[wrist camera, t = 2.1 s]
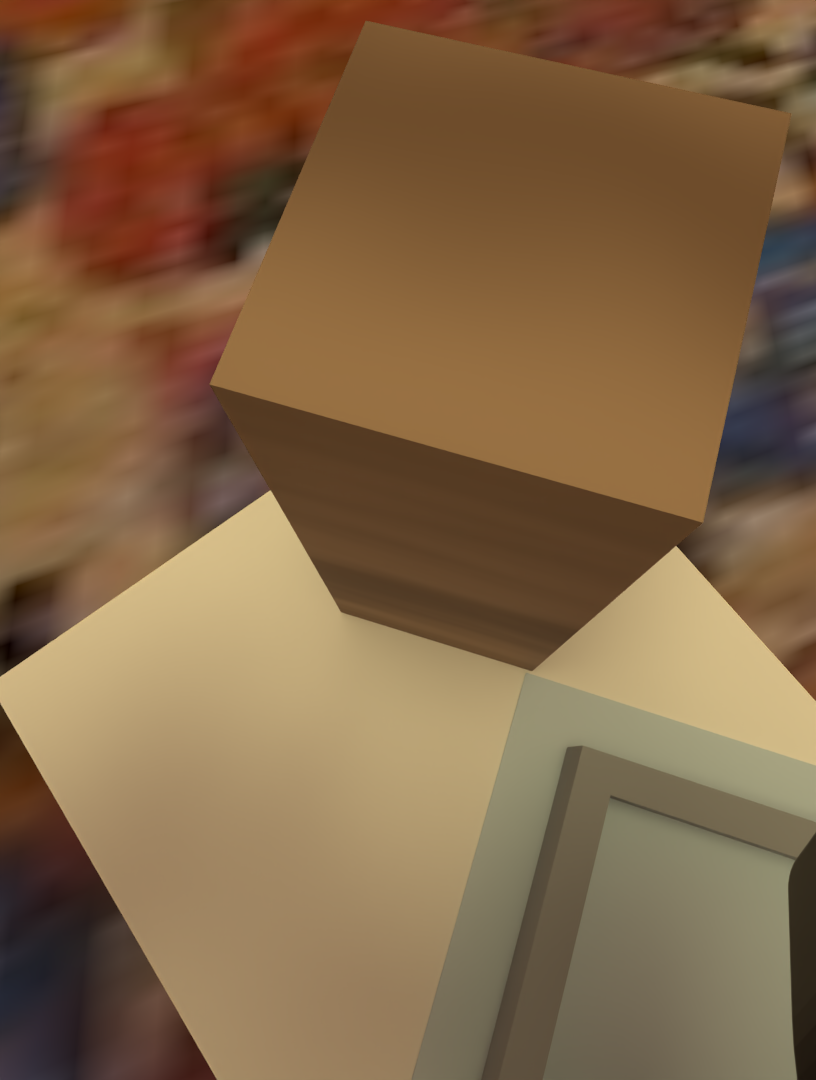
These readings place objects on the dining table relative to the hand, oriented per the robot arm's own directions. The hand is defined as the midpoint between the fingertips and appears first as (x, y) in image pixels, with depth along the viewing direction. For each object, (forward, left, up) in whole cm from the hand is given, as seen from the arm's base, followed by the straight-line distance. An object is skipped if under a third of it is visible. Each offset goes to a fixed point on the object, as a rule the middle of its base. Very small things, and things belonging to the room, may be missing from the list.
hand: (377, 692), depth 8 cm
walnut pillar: (+4, +3, -11) cm, 12 cm away
